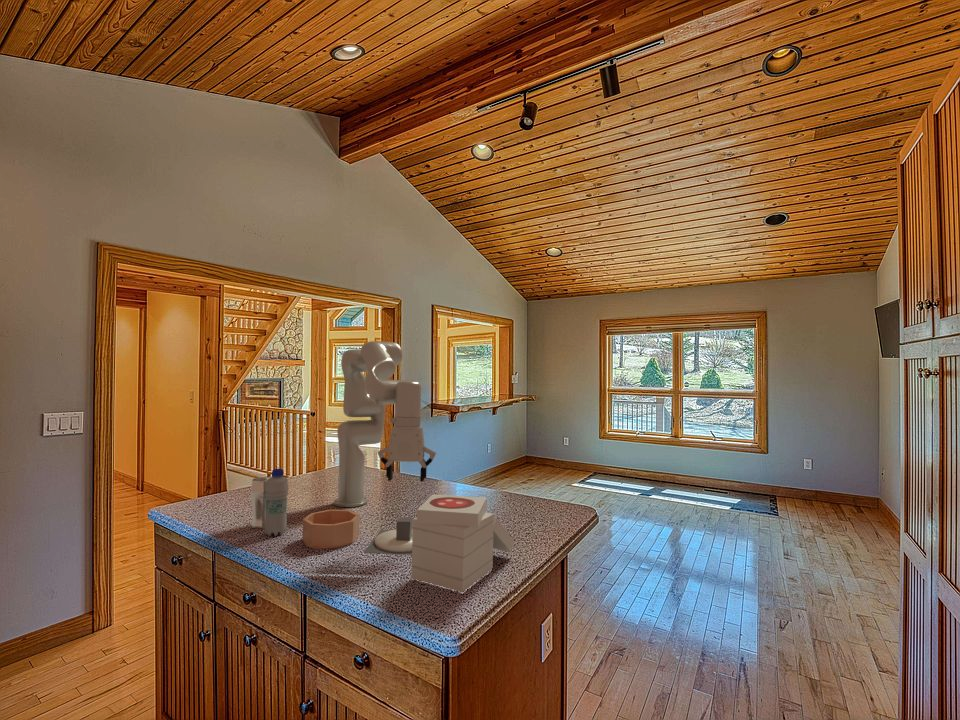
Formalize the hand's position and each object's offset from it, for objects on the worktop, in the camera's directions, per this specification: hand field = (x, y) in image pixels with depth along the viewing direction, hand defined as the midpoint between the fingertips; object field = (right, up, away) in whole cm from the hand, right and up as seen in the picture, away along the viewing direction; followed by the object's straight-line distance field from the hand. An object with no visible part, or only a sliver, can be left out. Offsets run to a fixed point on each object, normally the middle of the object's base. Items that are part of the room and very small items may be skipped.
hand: (406, 480), depth 140 cm
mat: (-1, -19, 0) cm, 19 cm away
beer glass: (-49, -18, +13) cm, 54 cm away
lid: (-1, -18, 0) cm, 18 cm away
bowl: (-23, -18, +1) cm, 29 cm away
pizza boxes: (+18, -19, -17) cm, 31 cm away
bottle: (-41, -18, +6) cm, 46 cm away
